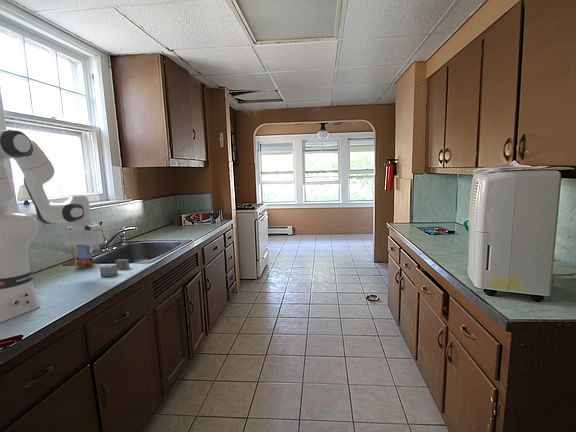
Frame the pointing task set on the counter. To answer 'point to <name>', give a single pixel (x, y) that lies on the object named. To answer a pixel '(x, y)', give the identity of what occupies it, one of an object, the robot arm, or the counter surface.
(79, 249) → the blue block
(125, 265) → the block
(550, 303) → the counter surface
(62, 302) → the counter surface
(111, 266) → the sliding jaw
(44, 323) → the counter surface
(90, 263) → the candy box
